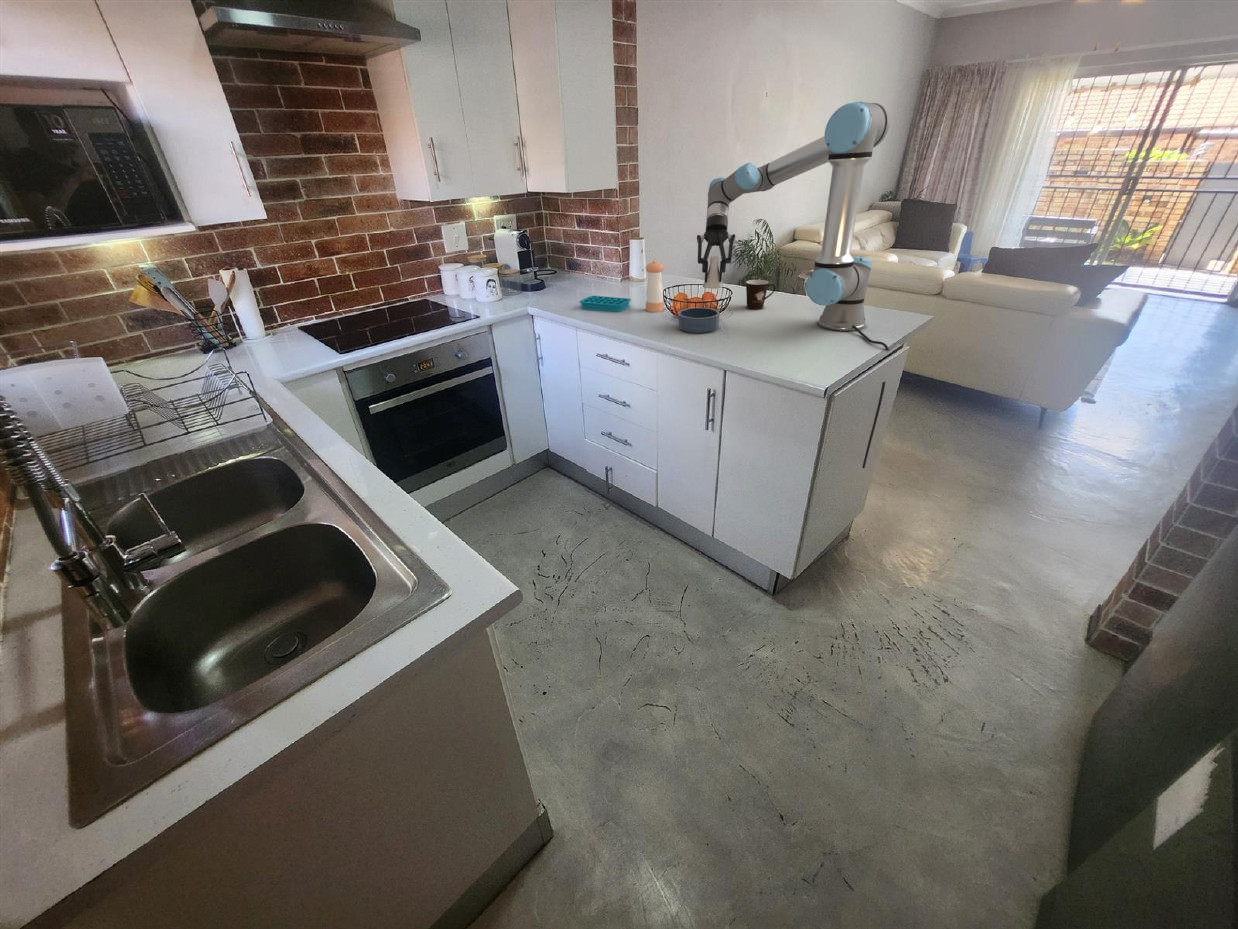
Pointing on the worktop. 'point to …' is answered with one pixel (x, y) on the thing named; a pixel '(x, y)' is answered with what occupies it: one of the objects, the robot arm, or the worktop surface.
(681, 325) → the bowl
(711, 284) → the flask
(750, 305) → the coffee mug
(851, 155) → the robot arm
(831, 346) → the worktop surface
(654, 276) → the pepper shaker
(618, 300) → the ice cube tray
